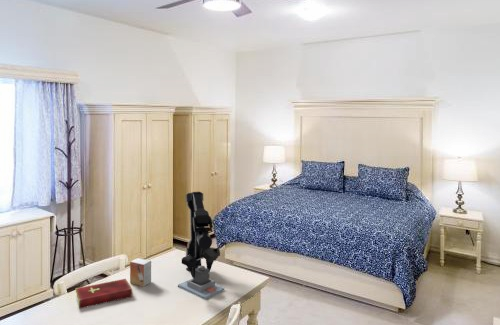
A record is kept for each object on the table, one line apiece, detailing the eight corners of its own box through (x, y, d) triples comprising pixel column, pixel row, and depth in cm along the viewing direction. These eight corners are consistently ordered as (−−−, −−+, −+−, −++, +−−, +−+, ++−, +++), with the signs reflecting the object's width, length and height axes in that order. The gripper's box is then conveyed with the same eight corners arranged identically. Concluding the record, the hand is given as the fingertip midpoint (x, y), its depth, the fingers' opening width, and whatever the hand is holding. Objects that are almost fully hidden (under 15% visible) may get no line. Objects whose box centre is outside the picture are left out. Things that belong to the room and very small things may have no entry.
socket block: (178, 286, 171) (178, 279, 171) (197, 278, 180) (197, 271, 180) (205, 299, 160) (205, 291, 159) (224, 290, 169) (224, 282, 168)
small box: (129, 283, 173) (129, 261, 172) (137, 278, 179) (137, 257, 177) (144, 286, 170) (143, 264, 169) (151, 281, 176) (151, 260, 174)
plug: (193, 286, 170) (193, 266, 169) (201, 282, 173) (201, 263, 172) (200, 289, 166) (200, 270, 165) (208, 286, 170) (209, 266, 169)
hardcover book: (132, 297, 161) (132, 288, 160) (79, 309, 150) (78, 299, 149) (125, 286, 171) (125, 278, 170) (75, 297, 160) (75, 287, 159)
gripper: (198, 251, 155) (197, 286, 157) (228, 240, 169) (228, 273, 171) (180, 244, 162) (180, 279, 164) (211, 235, 176) (211, 267, 178)
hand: (201, 274), depth 169 cm, fingers open, 9 cm apart
